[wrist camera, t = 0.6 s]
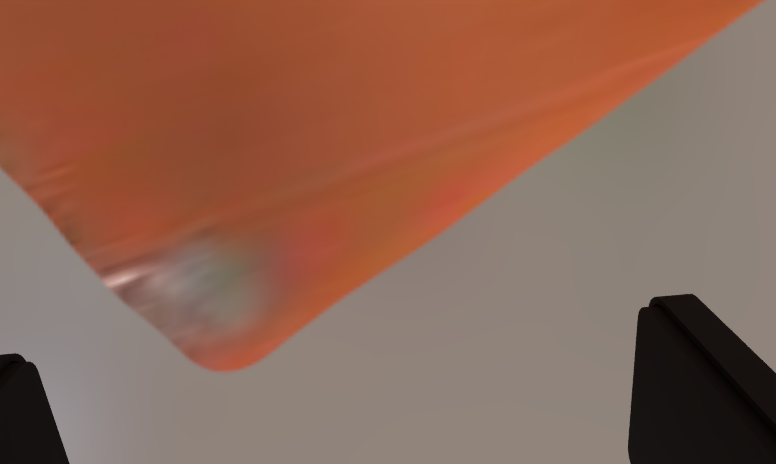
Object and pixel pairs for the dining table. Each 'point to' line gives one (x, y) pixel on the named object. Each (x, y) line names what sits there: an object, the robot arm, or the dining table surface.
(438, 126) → the dining table surface
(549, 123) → the dining table surface
